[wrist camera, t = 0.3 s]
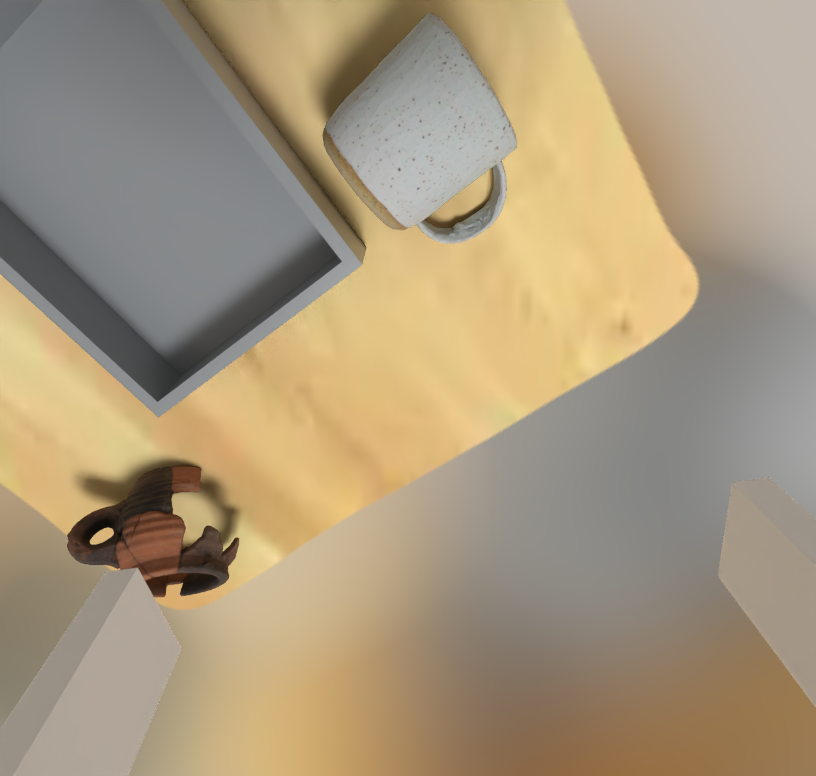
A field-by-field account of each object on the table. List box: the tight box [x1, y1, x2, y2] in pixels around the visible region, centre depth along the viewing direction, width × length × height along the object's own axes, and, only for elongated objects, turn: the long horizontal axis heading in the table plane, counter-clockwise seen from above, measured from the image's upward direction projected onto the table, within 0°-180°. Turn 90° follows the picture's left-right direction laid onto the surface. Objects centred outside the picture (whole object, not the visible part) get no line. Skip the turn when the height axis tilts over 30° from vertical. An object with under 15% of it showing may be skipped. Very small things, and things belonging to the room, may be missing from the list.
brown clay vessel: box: [67, 466, 239, 597], centre depth 40 cm, size 12×10×8 cm
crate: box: [0, 0, 366, 417], centre depth 29 cm, size 21×17×5 cm
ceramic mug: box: [323, 13, 517, 244], centre depth 27 cm, size 11×8×8 cm
